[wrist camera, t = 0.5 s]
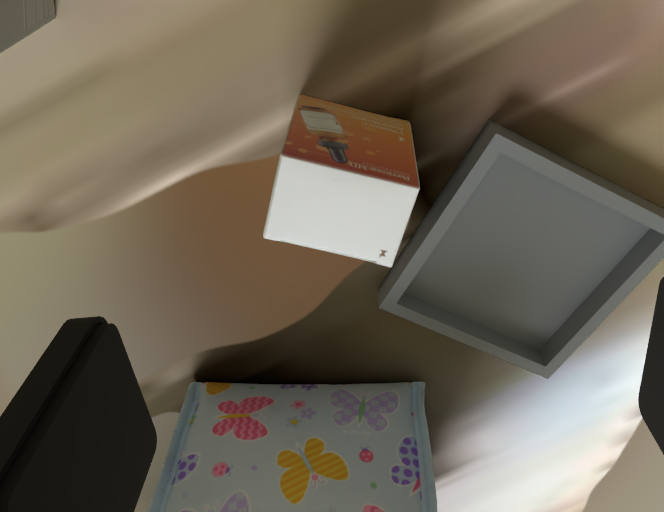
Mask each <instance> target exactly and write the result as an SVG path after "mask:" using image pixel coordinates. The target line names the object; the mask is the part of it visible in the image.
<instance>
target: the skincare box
mask: <svg viewBox="0 0 664 512" xmlns="http://www.w3.org/2000/svg"><path fill="white" fill-rule="evenodd" d="M55 18H56V16H55V6H54V0H0V53H1V52H3V51H5V50H6V49H8V48H9V47H11V46H12V45H14V44H16V43H17V42H19V41H20V40H22V39H23V38H25V37H27V36H28V35H30V34H31V33H33V32H35V31H36V30H38V29H39V28H41V27H42V26H44V25H45V24H47V23H48V22H50V21H52V20H53V19H55Z"/></svg>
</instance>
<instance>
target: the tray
mask: <svg viewBox="0 0 664 512" xmlns="http://www.w3.org/2000/svg"><path fill="white" fill-rule="evenodd" d="M663 258H664V209H663V208H661V207H659V206H657V205H655V204H653V203H651V202H649V201H647V200H645V199H644V198H642V197H640V196H638V195H636V194H634V193H632V192H630V191H628V190H626V189H624V188H622V187H620V186H618V185H616V184H614V183H612V182H610V181H608V180H606V179H604V178H603V177H601V176H599V175H597V174H595V173H593V172H591V171H589V170H587V169H585V168H583V167H581V166H579V165H577V164H575V163H573V162H571V161H569V160H567V159H565V158H564V157H562V156H560V155H558V154H556V153H554V152H552V151H550V150H548V149H546V148H544V147H542V146H540V145H538V144H536V143H534V142H532V141H530V140H528V139H526V138H524V137H523V136H521V135H519V134H517V133H515V132H513V131H511V130H509V129H507V128H505V127H503V126H501V125H499V124H497V123H495V122H493V121H491V120H488V121H487V123H486V125H485V126H484V128H483V129H482V131H481V132H480V134H479V135H478V137H477V138H476V140H475V141H474V143H473V144H472V146H471V147H470V149H469V150H468V152H467V153H466V155H465V157H464V158H463V160H462V161H461V163H460V164H459V166H458V167H457V169H456V170H455V172H454V173H453V175H452V176H451V178H450V179H449V181H448V182H447V184H446V185H445V187H444V188H443V190H442V192H441V193H440V195H439V196H438V198H437V199H436V201H435V202H434V204H433V205H432V207H431V208H430V210H429V211H428V213H427V214H426V216H425V217H424V219H423V220H422V222H421V224H420V225H419V227H418V228H417V230H416V231H415V233H414V234H413V236H412V237H411V239H410V240H409V242H408V243H407V245H406V246H405V248H404V249H403V251H402V252H401V254H400V255H399V257H398V259H397V260H396V262H395V263H394V265H393V266H392V268H391V269H390V271H389V272H388V274H387V275H386V277H385V278H384V280H383V281H382V283H381V284H380V286H379V287H378V305H379V308H380V309H382V310H385V311H387V312H389V313H392V314H394V315H397V316H399V317H401V318H404V319H406V320H409V321H411V322H413V323H416V324H418V325H421V326H423V327H425V328H428V329H430V330H433V331H435V332H437V333H440V334H442V335H445V336H447V337H449V338H452V339H454V340H456V341H459V342H461V343H464V344H466V345H468V346H471V347H473V348H476V349H478V350H480V351H483V352H485V353H488V354H490V355H492V356H495V357H497V358H500V359H502V360H504V361H507V362H509V363H512V364H514V365H516V366H519V367H521V368H524V369H526V370H528V371H531V372H533V373H536V374H538V375H540V376H543V377H545V378H549V377H550V376H551V375H552V374H553V373H554V372H555V371H556V370H557V369H558V368H559V367H560V366H561V365H562V364H563V363H564V362H565V360H566V359H567V358H568V357H569V356H570V355H571V354H572V353H573V352H574V351H575V350H576V349H577V348H578V347H579V346H580V345H581V344H582V343H583V342H584V341H585V340H586V338H587V337H588V336H589V335H590V334H591V333H592V332H593V331H594V330H595V329H596V328H597V327H598V326H599V325H600V324H601V323H602V322H603V321H604V320H605V319H606V318H607V316H608V315H609V314H610V313H611V312H612V311H613V310H614V309H615V308H616V307H617V306H618V305H619V304H620V303H621V302H622V301H623V300H624V299H625V298H626V297H627V295H628V294H629V293H630V292H631V291H632V290H633V289H634V288H635V287H636V286H637V285H638V284H639V283H640V282H641V281H642V280H643V279H644V278H645V277H646V276H647V275H648V273H649V272H650V271H651V270H652V269H653V268H654V267H655V266H656V265H657V264H658V263H659V262H660V261H661V260H662V259H663Z"/></svg>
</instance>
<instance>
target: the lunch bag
mask: <svg viewBox="0 0 664 512" xmlns="http://www.w3.org/2000/svg"><path fill="white" fill-rule="evenodd" d="M425 386H426V383H424V382H412V383H409V382H402V383H378V384H345V385H341V384H337V385H329V384H287V385H285V384H243V383H217V382H205V383H202V382H192V383H190V384H189V389H188V391H187V394H186V397H185V400H184V404H183V406H182V409H181V412H180V415H179V418H178V421H177V425H176V427H175V430H174V433H173V435H172V439H171V442H170V446H169V449H168V453H167V456H166V459H165V462H164V465H163V468H162V471H161V474H160V477H159V480H158V483H157V486H156V488H155V491H154V494H153V497H152V500H151V502H150V506H149V508H148V511H147V512H437V499H436V489H435V480H434V471H433V459H432V453H431V446H430V439H429V431H428V425H427V419H426V415H425V408H424V395H425V391H424V390H425Z"/></svg>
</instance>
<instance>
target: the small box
mask: <svg viewBox="0 0 664 512" xmlns="http://www.w3.org/2000/svg"><path fill="white" fill-rule="evenodd" d="M419 190H420V184H419V177H418V170H417V164H416V158H415V151H414V144H413V138H412V131H411V125H410V122H409V121H406V120H401V119H397V118H392V117H387V116H383V115H379V114H375V113H371V112H367V111H363V110H359V109H355V108H352V107H348V106H344V105H340V104H336V103H333V102H329V101H325V100H321V99H317V98H313V97H309V96H306V95H299V96H298V99H297V102H296V105H295V108H294V112H293V115H292V118H291V121H290V124H289V127H288V130H287V134H286V138H285V142H284V145H283V148H282V151H281V155H280V159H279V163H278V168H277V172H276V176H275V181H274V185H273V190H272V195H271V199H270V204H269V209H268V214H267V219H266V223H265V228H264V233H263V237H264V238H265V239H270V240H275V241H282V242H287V243H291V244H296V245H300V246H305V247H310V248H314V249H318V250H323V251H327V252H331V253H336V254H340V255H345V256H349V257H353V258H357V259H361V260H365V261H369V262H373V263H376V264H379V265H383V266H386V267H392V266H393V263H394V260H395V257H396V255H397V252H398V249H399V246H400V243H401V240H402V237H403V235H404V232H405V229H406V226H407V223H408V220H409V218H410V215H411V212H412V209H413V206H414V204H415V201H416V198H417V195H418V192H419Z"/></svg>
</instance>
